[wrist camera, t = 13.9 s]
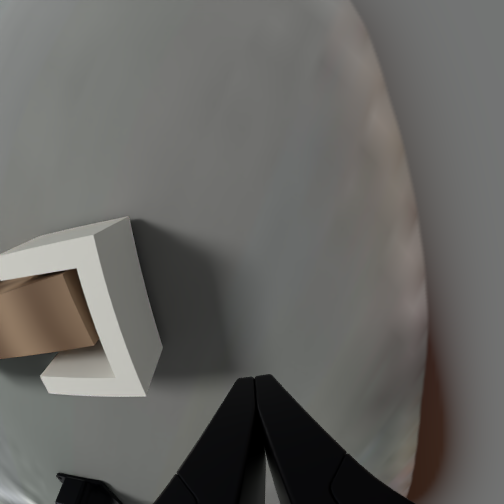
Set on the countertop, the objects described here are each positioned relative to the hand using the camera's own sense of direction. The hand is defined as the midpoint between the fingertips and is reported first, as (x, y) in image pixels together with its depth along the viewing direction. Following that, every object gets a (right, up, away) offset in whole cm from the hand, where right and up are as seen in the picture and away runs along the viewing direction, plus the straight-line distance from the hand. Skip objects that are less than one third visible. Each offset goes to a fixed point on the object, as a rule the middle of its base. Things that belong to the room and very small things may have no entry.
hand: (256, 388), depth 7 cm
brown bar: (-16, 0, +9) cm, 18 cm away
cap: (-9, +1, +9) cm, 13 cm away
